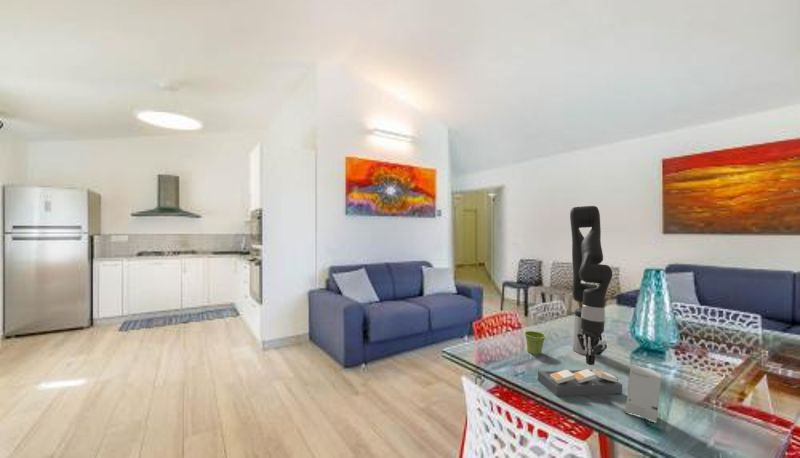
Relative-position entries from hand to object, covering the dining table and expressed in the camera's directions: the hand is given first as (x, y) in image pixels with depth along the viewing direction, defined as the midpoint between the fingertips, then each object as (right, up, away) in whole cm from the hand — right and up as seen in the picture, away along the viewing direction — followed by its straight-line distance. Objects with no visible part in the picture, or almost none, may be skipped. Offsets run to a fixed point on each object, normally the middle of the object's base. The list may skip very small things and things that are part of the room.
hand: (590, 364), depth 121 cm
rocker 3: (+6, -5, +1) cm, 8 cm away
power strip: (0, -10, +3) cm, 10 cm away
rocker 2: (-2, -5, 0) cm, 5 cm away
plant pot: (-6, -9, +35) cm, 37 cm away
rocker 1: (-11, -4, -1) cm, 12 cm away
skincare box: (+8, -11, -15) cm, 20 cm away
